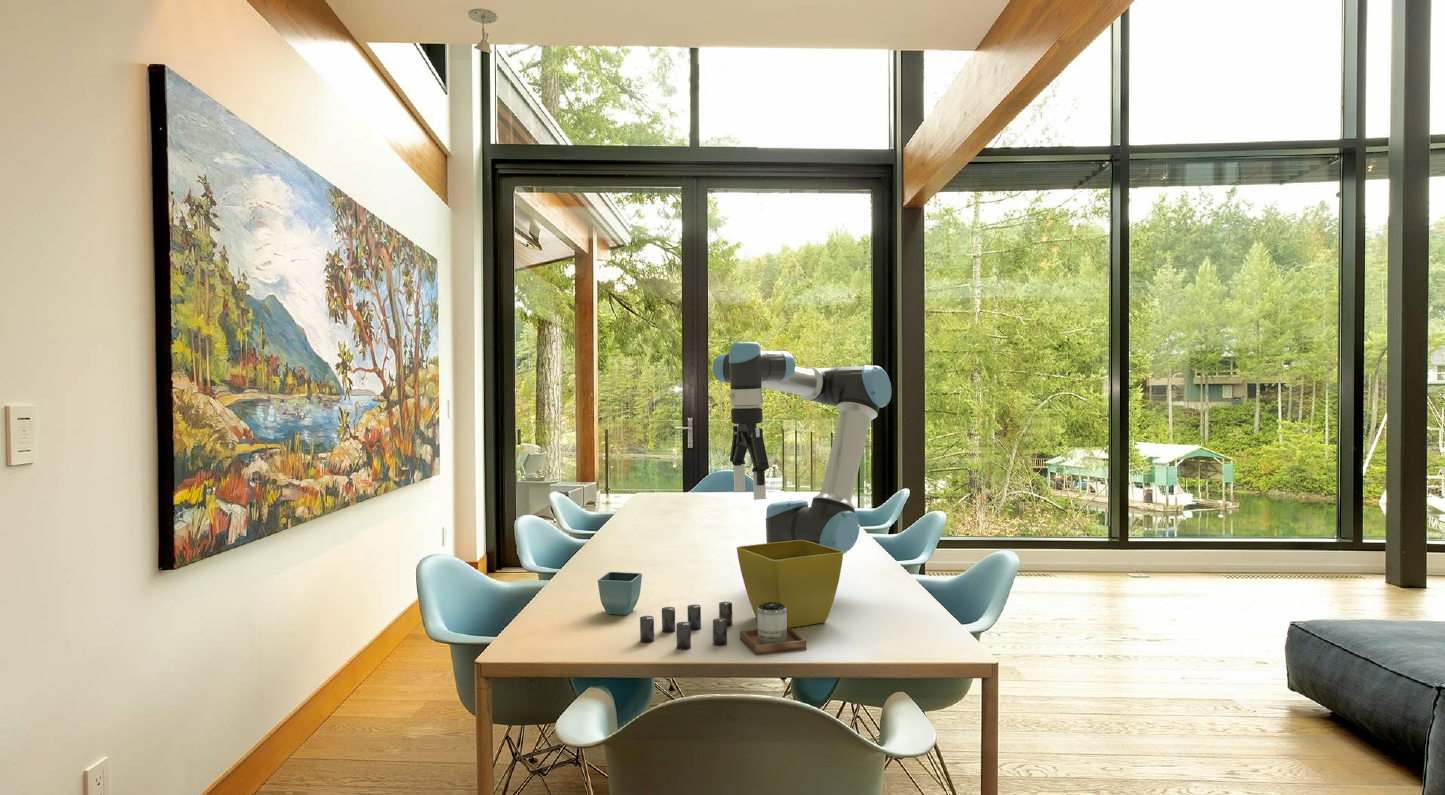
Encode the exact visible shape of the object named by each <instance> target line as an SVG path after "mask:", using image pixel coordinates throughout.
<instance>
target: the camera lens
mask: <svg viewBox="0 0 1445 795" xmlns="http://www.w3.org/2000/svg"><path fill="white" fill-rule="evenodd" d="M756 618H757V629H758V638H759V642H760V643H762V644H772V643H781V642H786V636H787V609H786V607H785V606H784V605H783V604H780V603H777V602H768V603H764V604H761V605H760V606H759V607H758V608H757V617H756Z"/></svg>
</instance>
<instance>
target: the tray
mask: <svg viewBox="0 0 1445 795" xmlns="http://www.w3.org/2000/svg"><path fill="white" fill-rule="evenodd" d="M739 639H740V640H741V642H742V643H744V645H746V647H748V649H750V651H752V652H753V654H755V655H756V656H760V655H767V654H768V655H769V654H776V653H786V652H794V651H804V650H805V651H806V650H807V640H806V639H805V638H803V636H801V635H800V634H798V632H796V631H795V630H794V629H792V628H789V627H788V626H787V636H786V642H781V643H772V644H762V643H760V642H759V638H758V628H756V629H755V628H754V629H747V630H746V629H744V630H740V631H739Z"/></svg>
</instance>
